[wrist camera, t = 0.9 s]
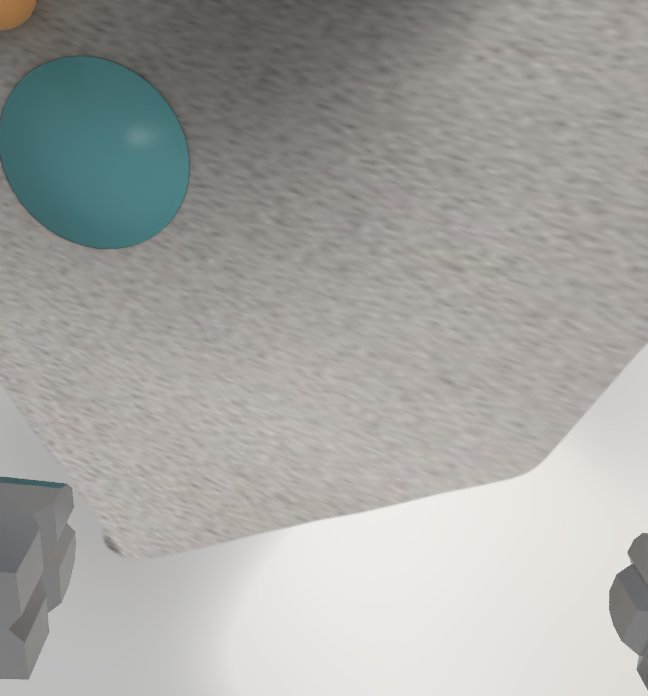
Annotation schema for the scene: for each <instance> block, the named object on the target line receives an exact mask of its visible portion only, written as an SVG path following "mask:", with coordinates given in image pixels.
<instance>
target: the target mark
mask: <svg viewBox="0 0 648 696" xmlns="http://www.w3.org/2000/svg"><path fill="white" fill-rule="evenodd" d="M0 155H1V160H2V164H3V168H4V170H5V173H6V176H7V178H8V181H9V183H10V185H11V187H12V188H13V190H14V192H15V194H16V195H17V197H18V198H19V200H20V201H21V203H22V204H23V205H24V206H25V207H26V209H27V210H28V211H29V212H30V213H31V214H32V215H33V216H34V217H35V218H36V219H37V220H38V221H39V222H40V223H42V224H43V225H44V226H46V227H47V228H48V229H50V230H51V231H53V232H54V233H56V234H58V235H59V236H61V237H64V238H66V239H68V240H70V241H72V242H75V243H78V244H81V245H85V246H90V247H94V248H105V249H108V248H122V247H128V246H131V245H135V244H138V243H141V242H143V241H145V240H147V239H149V238H151V237H152V236H154V235H155V234H157V233H158V232H159V231H161V230H162V229H163V228H164V227H165V226H166V225H167V224H168V223H169V222H170V221H171V220H172V218H173V217H174V216H175V214H176V212H177V211H178V209H179V208H180V206H181V203H182V201H183V199H184V196H185V193H186V190H187V186H188V179H189V154H188V148H187V144H186V139H185V136H184V133H183V131H182V128H181V125H180V123H179V121H178V119H177V117H176V115H175V113H174V112H173V110H172V109H171V107H170V106H169V104H168V103H167V102H166V100H165V99H164V98H163V97H162V96H161V94H160V93H159V92H158V91H157V90H156V89H155V88H154V87H153V86H152V85H151V84H149V83H148V82H147V81H146V80H144V79H143V78H142V77H140V76H139V75H138V74H136V73H134V72H133V71H131V70H129V69H127V68H126V67H124V66H121V65H119V64H116V63H114V62H111V61H108V60H104V59H100V58H94V57H86V56H79V57H66V58H60V59H56V60H53V61H50V62H47V63H45V64H43V65H41V66H39V67H37V68H35V69H34V70H33V71H31V72H30V73H28V74H27V75H26V76H25V77H24V78H23V79H22V80H21V81H20V82H19V83H18V84H17V85H16V87H15V88H14V90H13V91H12V92H11V94H10V96H9V98H8V100H7V102H6V104H5V106H4V109H3V113H2V116H1V121H0Z"/></svg>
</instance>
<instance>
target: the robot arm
mask: <svg viewBox="0 0 648 696" xmlns="http://www.w3.org/2000/svg"><path fill="white" fill-rule="evenodd" d="M73 508H74V505H73V494H72V488H71V487H70V486H69V485H68V484H64V483H55V482H46V481H36V480H27V479H18V478H9V477H0V679H29V678H30V675H31V673H32V671H33V668H34V666H35V664H36V661H37V659H38V657H39V654H40V652H41V650H42V647H43V645H44V643H45V640H46V638H47V636H48V633H49V627H48V612H50V611H51V610H52V609H54V608H55V607H56V606H58V605H59V604H61V602H62V600H63V598H64V595H65V593H66V590H67V588H68V585H69V582H70V578H71V573H72V569H73V565H74V559H75V548H76V540H75V531H74V530H73V529H72V528H71V527H70V526H69V525H68V524H67V520H68V518H69V516H70V514H71V512H72V510H73ZM628 555H629V558H630V560H631V563H632V564H631V565H630V566H628V567H627V568H626V569H624V570H622V571H621V572H620V573H618V574H617V575H616V577H615V580H614V582H613V584H612V587H611V589H610V591H609V592H610V593H609V596H610V597H609V598H610V599H609V610H610V614H611V618H612V622H613V625H614V627H615V629H616V631H617V633H618V635H619V637H620V639H621V641H622V642H623V643H625V644H626V645H627V646H628V647H630V648H631V649H632V650H633V651H634V652H635V653H637V654H638V655H639V659H638V665H637V671H638V673H639V675H640V676H641V678H642V680H643V682H644V684H645V686H646V688H647V689H648V533H642V534H641V535H640V536H638V537H637V538H636V539H634V541H633V543H632V545H631V547H630V548H629V550H628Z"/></svg>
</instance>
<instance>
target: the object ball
mask: <svg viewBox="0 0 648 696" xmlns="http://www.w3.org/2000/svg"><path fill="white" fill-rule="evenodd" d="M36 2H37V0H0V30H9V29H13V28H16V27H18V26H20V25H21V24H23V23H24V22H25V21H26V20H28V19H29V17H30V16H31V15H32V13H33V11H34V9H35V6H36Z"/></svg>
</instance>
